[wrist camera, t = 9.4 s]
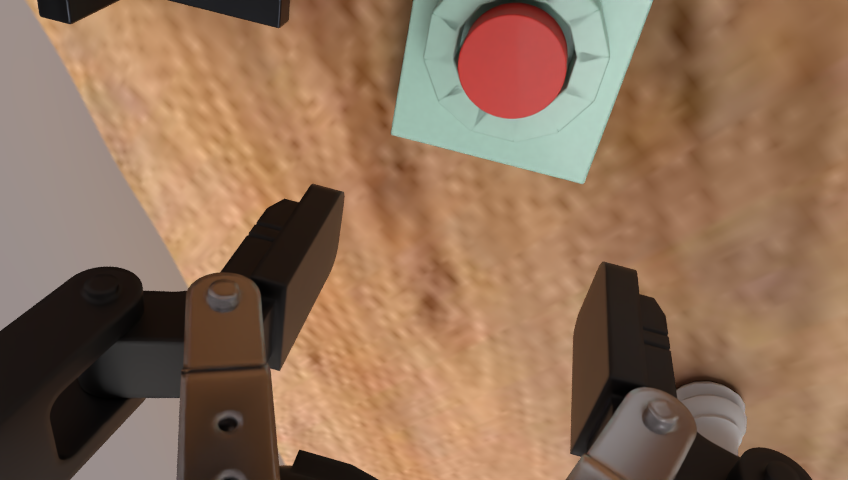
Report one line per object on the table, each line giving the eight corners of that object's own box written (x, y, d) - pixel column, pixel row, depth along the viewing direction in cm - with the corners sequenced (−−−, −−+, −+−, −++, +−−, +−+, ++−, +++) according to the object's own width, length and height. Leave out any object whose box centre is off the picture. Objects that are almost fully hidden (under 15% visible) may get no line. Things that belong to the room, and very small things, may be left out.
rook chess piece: (750, 424, 40) (782, 550, 34) (672, 434, 42) (688, 556, 35) (735, 371, 38) (766, 494, 32) (654, 383, 40) (667, 502, 33)
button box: (448, -143, 27) (425, -129, 23) (674, -90, 26) (688, -66, 22) (403, 110, 33) (380, 153, 29) (584, 157, 33) (583, 206, 29)
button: (476, -10, 25) (470, 2, 24) (581, 16, 25) (581, 29, 24) (454, 89, 28) (447, 105, 26) (550, 114, 27) (548, 130, 26)
